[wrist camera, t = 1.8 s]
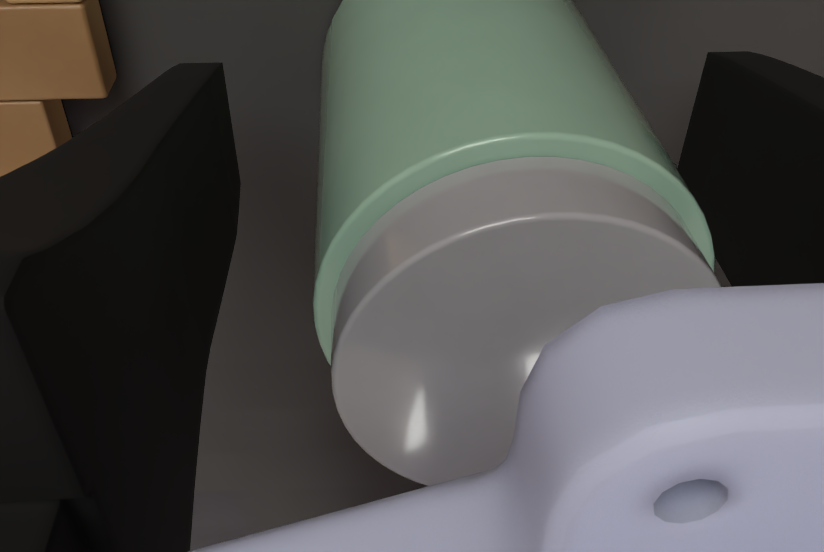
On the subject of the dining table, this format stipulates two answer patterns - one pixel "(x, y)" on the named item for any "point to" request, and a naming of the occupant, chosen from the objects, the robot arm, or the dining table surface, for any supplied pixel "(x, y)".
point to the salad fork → (47, 72)
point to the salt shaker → (477, 216)
